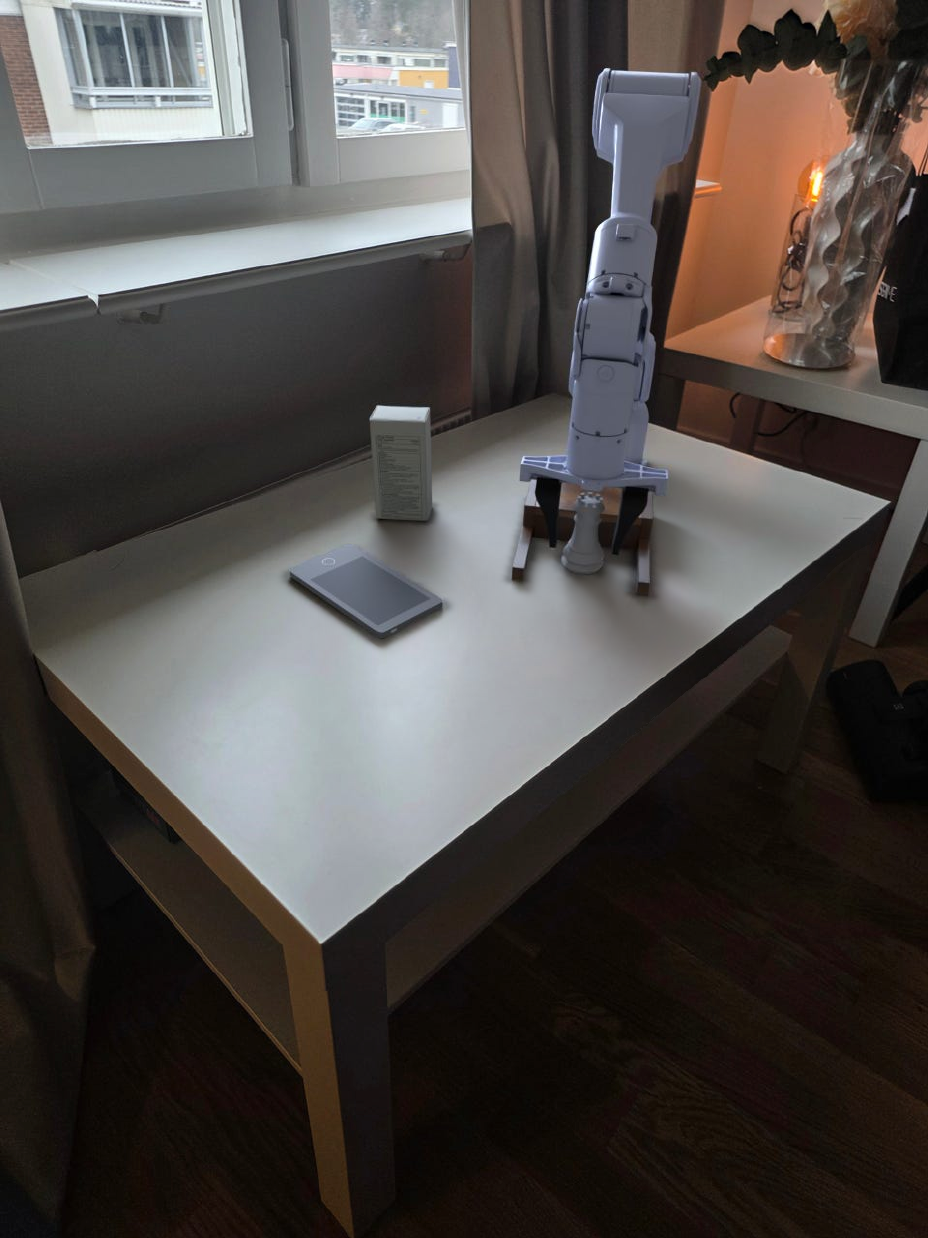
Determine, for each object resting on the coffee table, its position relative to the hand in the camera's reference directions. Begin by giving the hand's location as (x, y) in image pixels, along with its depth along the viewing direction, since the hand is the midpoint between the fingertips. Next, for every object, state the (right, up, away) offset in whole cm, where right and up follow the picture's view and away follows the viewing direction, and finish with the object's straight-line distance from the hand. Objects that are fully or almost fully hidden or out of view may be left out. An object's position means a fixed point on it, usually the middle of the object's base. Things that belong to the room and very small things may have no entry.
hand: (584, 547), depth 88 cm
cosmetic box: (-20, +5, +10) cm, 23 cm away
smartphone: (-23, -5, -4) cm, 23 cm away
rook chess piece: (0, -2, +1) cm, 2 cm away
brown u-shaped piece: (+1, +1, +5) cm, 5 cm away
